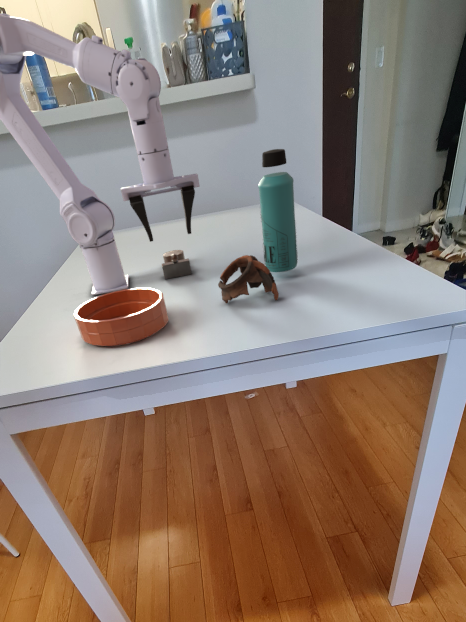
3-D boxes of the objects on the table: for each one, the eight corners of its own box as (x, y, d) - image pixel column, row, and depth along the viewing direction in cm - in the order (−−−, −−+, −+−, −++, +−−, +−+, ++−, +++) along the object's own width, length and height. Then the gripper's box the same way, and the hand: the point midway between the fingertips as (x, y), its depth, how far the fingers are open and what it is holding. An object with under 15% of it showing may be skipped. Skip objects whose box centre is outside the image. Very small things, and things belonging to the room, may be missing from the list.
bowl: (87, 323, 85) (78, 298, 82) (167, 307, 85) (161, 282, 82) (79, 356, 73) (68, 328, 70) (171, 337, 74) (164, 309, 71)
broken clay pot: (283, 308, 78) (256, 270, 72) (238, 334, 83) (210, 300, 77) (282, 268, 84) (257, 230, 79) (240, 295, 89) (214, 261, 84)
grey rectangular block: (164, 277, 100) (161, 263, 99) (191, 271, 101) (188, 258, 99) (164, 279, 99) (161, 265, 97) (191, 274, 99) (189, 260, 97)
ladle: (165, 264, 108) (159, 236, 104) (184, 260, 108) (179, 232, 104) (169, 288, 94) (162, 257, 90) (191, 283, 94) (186, 252, 90)
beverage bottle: (304, 270, 90) (300, 144, 77) (288, 281, 86) (281, 151, 73) (275, 269, 93) (266, 147, 80) (259, 280, 90) (247, 154, 76)
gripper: (112, 161, 78) (134, 248, 87) (194, 145, 79) (208, 233, 88) (113, 158, 83) (134, 240, 92) (191, 143, 84) (204, 226, 93)
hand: (170, 236), depth 90 cm, fingers open, 7 cm apart
